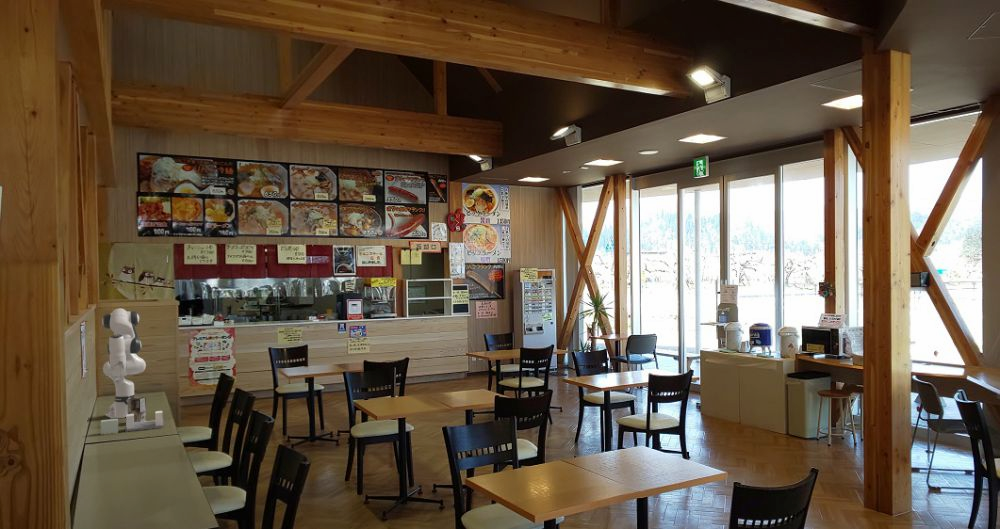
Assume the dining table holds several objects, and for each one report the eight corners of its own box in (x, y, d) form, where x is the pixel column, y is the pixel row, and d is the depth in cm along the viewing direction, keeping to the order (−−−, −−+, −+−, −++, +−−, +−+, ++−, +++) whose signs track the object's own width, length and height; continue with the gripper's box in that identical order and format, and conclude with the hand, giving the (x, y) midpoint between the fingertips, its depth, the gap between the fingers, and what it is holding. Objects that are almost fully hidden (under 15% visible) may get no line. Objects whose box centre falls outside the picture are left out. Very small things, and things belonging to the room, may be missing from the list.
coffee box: (146, 421, 441) (146, 397, 441) (140, 423, 435) (140, 399, 435) (133, 421, 442) (133, 397, 442) (127, 423, 436) (127, 398, 436)
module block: (101, 433, 411) (101, 420, 411) (118, 431, 415) (118, 418, 415) (100, 434, 407) (100, 421, 407) (118, 433, 411) (117, 420, 411)
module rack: (126, 429, 421) (125, 413, 421) (163, 424, 431) (163, 410, 431) (125, 432, 413) (125, 416, 413) (163, 427, 423) (163, 412, 423)
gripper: (128, 360, 411) (130, 383, 411) (119, 359, 426) (120, 381, 426) (117, 362, 407) (118, 385, 407) (107, 361, 421) (109, 383, 421)
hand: (119, 383), depth 416 cm, fingers open, 8 cm apart
